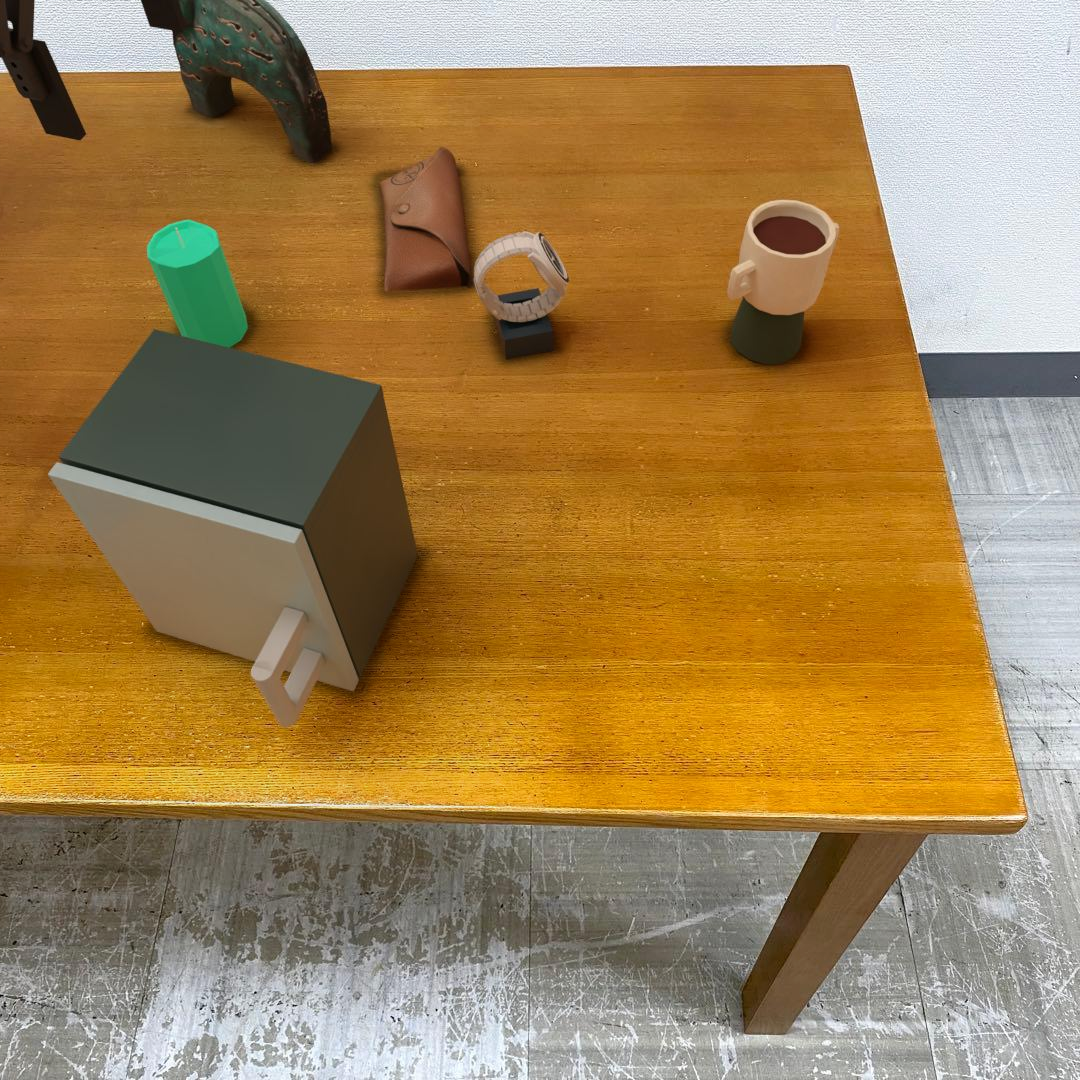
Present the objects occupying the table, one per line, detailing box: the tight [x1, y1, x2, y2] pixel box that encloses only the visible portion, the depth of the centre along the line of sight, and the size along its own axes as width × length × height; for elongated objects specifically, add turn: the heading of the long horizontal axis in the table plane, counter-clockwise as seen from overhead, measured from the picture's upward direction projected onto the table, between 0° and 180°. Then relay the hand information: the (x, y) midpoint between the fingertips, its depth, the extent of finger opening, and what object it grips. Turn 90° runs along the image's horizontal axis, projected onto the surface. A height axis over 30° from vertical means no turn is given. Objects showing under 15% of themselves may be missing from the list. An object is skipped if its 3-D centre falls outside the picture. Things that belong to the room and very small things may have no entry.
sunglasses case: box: [379, 146, 473, 293], centre depth 99 cm, size 18×7×7 cm
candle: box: [146, 218, 249, 348], centre depth 88 cm, size 6×6×12 cm
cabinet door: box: [47, 461, 360, 728], centre depth 65 cm, size 6×16×20 cm, turn 72°
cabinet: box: [58, 329, 419, 678], centre depth 69 cm, size 11×16×20 cm
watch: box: [472, 230, 570, 360], centre depth 87 cm, size 6×8×11 cm
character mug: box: [726, 199, 840, 366], centre depth 86 cm, size 11×7×13 cm, turn 121°
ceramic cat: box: [171, 0, 333, 164], centre depth 102 cm, size 20×6×20 cm, turn 54°
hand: (120, 78), depth 72 cm, fingers open, 13 cm apart
